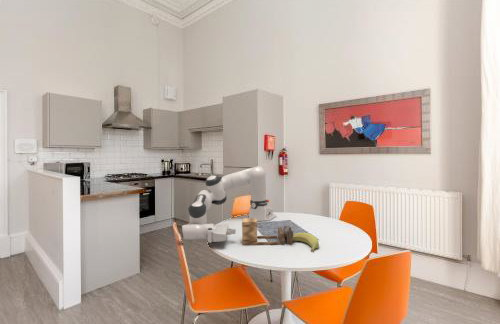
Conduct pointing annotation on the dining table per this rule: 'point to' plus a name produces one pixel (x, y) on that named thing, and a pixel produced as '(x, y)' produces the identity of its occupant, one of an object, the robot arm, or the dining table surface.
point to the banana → (307, 239)
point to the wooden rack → (281, 236)
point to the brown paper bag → (249, 230)
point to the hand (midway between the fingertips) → (235, 231)
